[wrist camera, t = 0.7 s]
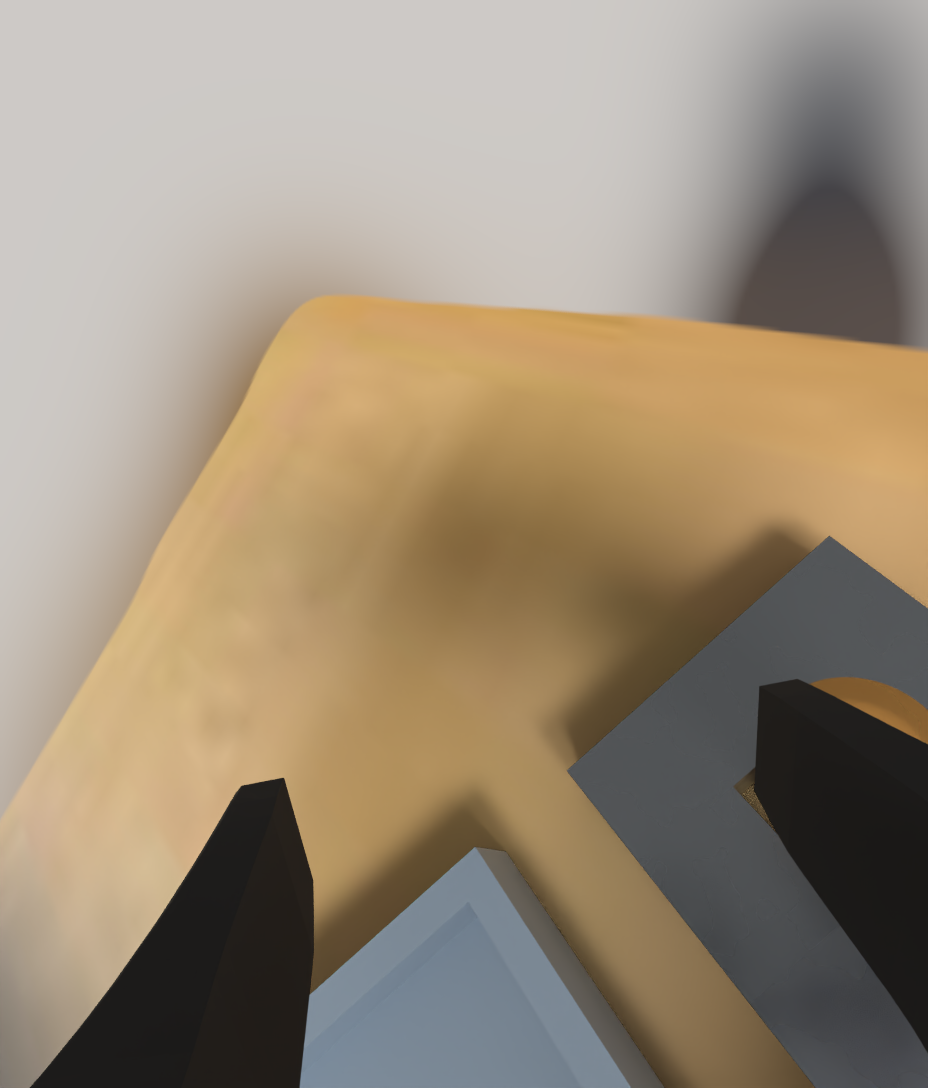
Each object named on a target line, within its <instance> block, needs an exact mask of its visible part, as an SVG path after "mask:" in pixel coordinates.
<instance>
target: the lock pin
mask: <svg viewBox="0 0 928 1088" xmlns="http://www.w3.org/2000/svg"><path fill="white" fill-rule="evenodd" d="M810 685H812V686H814V687H816V688H818V689H821V690H823V691H825V692H827V693H829V694H831V695H833V696H834V697H836V698H838V699H840V700H842V701H844V702H846V703H848V704H850V705H852V706H854V707H856V708H858V709H860V710H862V711H864V712H866V713H868V714H869V715H871V716H873V717H875V718H877V719H879V720H881V721H883V722H885V723H887V724H889V725H891V726H893V727H895V728H897V729H899V730H901V731H903V732H905V733H906V734H908V735H910V736H912V737H914V738H916V739H918V740H920V741H922V742H924V743H926V744H928V710H927V709H926V708H925V707H924V706H923V705H921V704H920V703H919V702H917V701H916V700H915V699H913V698H912V697H910V696H909V695H907V694H905V693H903V692H902V691H900V690H898V689H896V688H893V687H891V686H889V685H886V684H883V683H880V682H877V681H873V680H868V679H863V678H854V677H836V678H829V679H823V680H820V681H816V682H813V683H810Z"/></svg>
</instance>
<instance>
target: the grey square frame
mask: <svg viewBox="0 0 928 1088" xmlns="http://www.w3.org/2000/svg"><path fill="white" fill-rule="evenodd" d="M836 677H854V678H863V679H868V680H873V681H877V682H880V683H883V684H886V685H889V686H891V687H893V688H896V689H898V690H900V691H902V692H903V693H905V694H907V695H909V696H910V697H912V698H913V699H915V700H916V701H917V702H919V703H920V704H921V705H923V706H924V707H925V708H926V709H927V710H928V609H927V608H926V607H925V606H923V605H922V604H921V603H919V602H918V601H917V600H915V599H914V598H913V597H911V596H910V595H909V594H907V593H906V592H904V591H903V590H902V589H900V588H899V587H898V586H896V585H895V584H894V583H892V582H891V581H890V580H888V579H887V578H886V577H884V576H883V575H882V574H880V573H879V572H877V571H876V570H875V569H873V568H872V567H871V566H869V565H868V564H867V563H865V562H864V561H863V560H861V559H860V558H859V557H857V556H856V555H855V554H853V553H852V552H851V551H849V550H848V549H846V548H845V547H844V546H842V545H841V544H840V543H838V542H837V541H836V540H834V539H833V538H832V537H830V536H829V537H827V538H826V539H825V540H824V541H823V542H822V543H821V544H820V545H819V546H817V547H816V548H815V549H814V550H813V551H812V552H811V553H810V554H808V555H807V556H806V557H805V558H804V559H803V560H802V561H801V562H800V563H798V564H797V565H796V566H795V567H794V568H793V569H792V570H791V571H789V572H788V573H787V574H786V575H785V576H784V577H783V578H782V579H781V580H779V581H778V582H777V583H776V584H775V585H774V586H773V587H772V588H770V589H769V590H768V591H767V592H766V593H765V594H764V595H763V596H762V597H760V598H759V599H758V600H757V601H756V602H755V603H754V604H753V605H751V606H750V607H749V608H748V609H747V610H746V611H745V612H744V613H743V614H741V615H740V616H739V617H738V618H737V619H736V620H735V621H734V622H732V623H731V624H730V625H729V626H728V627H727V628H726V629H725V630H724V631H722V632H721V633H720V634H719V635H718V636H717V637H716V638H715V639H713V640H712V641H711V642H710V643H709V644H708V645H707V646H706V647H705V648H703V649H702V650H701V651H700V652H699V653H698V654H697V655H696V656H694V657H693V658H692V659H691V660H690V661H689V662H688V663H687V664H686V665H684V666H683V667H682V668H681V669H680V670H679V671H678V672H677V673H675V674H674V675H673V676H672V677H671V678H670V679H669V680H668V681H666V682H665V683H664V684H663V685H662V686H661V687H660V688H659V689H658V690H656V691H655V692H654V693H653V694H652V695H651V696H650V697H649V698H647V699H646V700H645V701H644V702H643V703H642V704H641V705H640V706H639V707H637V708H636V709H635V710H634V711H633V712H632V713H631V714H630V715H628V716H627V717H626V718H625V719H624V720H623V721H622V722H621V723H620V724H618V725H617V726H616V727H615V728H614V729H613V730H612V731H611V732H609V733H608V734H607V735H606V736H605V737H604V738H603V739H602V740H601V741H599V742H598V743H597V744H596V745H595V746H594V747H593V748H592V749H590V750H589V751H588V752H587V753H586V754H585V755H584V756H583V757H582V758H580V759H579V760H578V761H577V762H576V763H575V764H574V765H573V766H571V767H570V768H569V769H568V770H567V771H568V773H569V774H570V775H571V777H572V778H573V779H574V780H575V782H576V783H577V784H578V786H579V787H580V788H581V789H582V791H583V792H584V793H585V794H586V796H587V797H588V798H589V800H590V801H591V802H592V803H593V805H594V806H595V807H596V808H597V810H598V811H599V812H600V814H601V815H602V816H603V817H604V819H605V820H606V821H607V822H608V824H609V825H610V826H611V828H612V829H613V830H614V831H615V833H616V834H617V835H618V837H619V838H620V839H621V840H622V842H623V843H624V844H625V845H626V847H627V848H628V849H629V851H630V852H631V853H632V854H633V856H634V857H635V858H636V859H637V861H638V862H639V863H640V865H641V866H642V867H643V868H644V870H645V871H646V872H647V873H648V875H649V876H650V877H651V879H652V880H653V881H654V882H655V884H656V885H657V886H658V888H659V889H660V890H661V891H662V893H663V894H664V895H665V896H666V898H667V899H668V900H669V902H670V903H671V904H672V905H673V907H674V908H675V909H676V910H677V912H678V913H679V914H680V916H681V917H682V918H683V919H684V921H685V922H686V923H687V924H688V926H689V927H690V928H691V930H692V931H693V932H694V933H695V935H696V936H697V937H698V939H699V940H700V941H701V942H702V944H703V945H704V946H705V947H706V949H707V950H708V951H709V953H710V954H711V955H712V956H713V958H714V959H715V960H716V961H717V963H718V964H719V965H720V967H721V968H722V969H723V970H724V972H725V973H726V974H727V975H728V977H729V978H730V979H731V981H732V982H733V983H734V984H735V986H736V987H737V988H738V989H739V991H740V992H741V993H742V995H743V996H744V997H745V998H746V1000H747V1001H748V1002H749V1004H750V1005H751V1006H752V1007H753V1009H754V1010H755V1011H756V1012H757V1014H758V1015H759V1016H760V1018H761V1019H762V1020H763V1021H764V1023H765V1024H766V1025H767V1026H768V1028H769V1029H770V1030H771V1032H772V1033H773V1034H774V1035H775V1037H776V1038H777V1039H778V1040H779V1042H780V1043H781V1044H782V1046H783V1047H784V1048H785V1049H786V1051H787V1052H788V1053H789V1055H790V1056H791V1057H792V1058H793V1060H794V1061H795V1062H796V1063H797V1065H798V1066H799V1067H800V1069H801V1070H802V1071H803V1072H804V1074H805V1075H806V1076H807V1077H808V1079H809V1080H810V1081H811V1083H812V1084H813V1085H814V1086H815V1088H928V1053H927V1051H926V1050H925V1048H924V1046H923V1045H922V1043H921V1041H920V1040H919V1038H918V1036H917V1035H916V1033H915V1031H914V1030H913V1028H912V1027H911V1025H910V1024H909V1022H908V1021H907V1019H906V1018H905V1016H904V1015H903V1013H902V1012H901V1010H900V1009H899V1007H898V1006H897V1004H896V1003H895V1001H894V1000H893V998H892V997H891V995H890V994H889V992H888V991H887V990H886V988H885V987H884V986H883V984H882V983H881V981H880V980H879V979H878V977H877V976H876V974H875V973H874V972H873V970H872V969H871V968H870V966H869V965H868V963H867V962H866V961H865V959H864V958H863V957H862V955H861V954H860V952H859V951H858V950H857V948H856V947H855V945H854V944H853V943H852V941H851V940H850V939H849V937H848V936H847V934H846V933H845V932H844V930H843V929H842V928H841V926H840V925H839V923H838V922H837V921H836V919H835V918H834V916H833V915H832V914H831V912H830V911H829V910H828V908H827V907H826V905H825V904H824V903H823V901H822V900H821V898H820V897H819V896H818V894H817V893H816V891H815V890H814V889H813V887H812V886H811V884H810V883H809V882H808V880H807V879H806V877H805V876H804V875H803V873H802V872H801V870H800V869H799V868H798V866H797V865H796V863H795V862H794V860H793V859H792V857H791V856H790V855H789V853H788V852H787V850H786V848H785V846H784V845H783V843H782V841H781V839H780V838H779V836H778V835H777V833H776V832H775V831H774V830H773V829H772V828H771V827H770V826H769V825H768V824H767V823H766V822H765V821H764V820H763V818H762V817H761V816H760V815H759V814H758V813H757V812H756V811H755V810H754V809H753V808H752V807H751V806H750V804H749V803H748V802H747V801H746V800H745V799H744V798H743V797H742V796H741V794H742V793H743V792H744V791H746V790H747V789H748V788H749V787H750V786H751V785H752V784H754V783H755V764H756V743H757V723H758V702H759V686H762V685H768V684H773V683H778V682H783V681H788V680H794V679H799V680H801V681H804V682H806V683H808V684H810V683H813V682H816V681H820V680H823V679H829V678H836Z"/></svg>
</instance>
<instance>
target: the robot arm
mask: <svg viewBox="0 0 928 1088" xmlns="http://www.w3.org/2000/svg"><path fill="white" fill-rule="evenodd" d="M754 791H755V793H756V795H757V797H758V799H759V801H760V803H761V805H762V806H763V808H764V810H765V812H766V814H767V816H768V818H769V820H770V822H771V823H772V825H773V827H774V829H775V831H776V832H777V834H778V836H779V838H780V839H781V841H782V843H783V845H784V846H785V848H786V850H787V852H788V853H789V855H790V856H791V857H792V859H793V860H794V862H795V863H796V865H797V866H798V868H799V869H800V870H801V872H802V873H803V875H804V876H805V877H806V879H807V880H808V882H809V883H810V884H811V886H812V887H813V889H814V890H815V891H816V893H817V894H818V896H819V897H820V898H821V900H822V901H823V903H824V904H825V905H826V907H827V908H828V910H829V911H830V912H831V914H832V915H833V916H834V918H835V919H836V921H837V922H838V923H839V925H840V926H841V928H842V929H843V930H844V932H845V933H846V934H847V936H848V937H849V939H850V940H851V941H852V943H853V944H854V945H855V947H856V948H857V950H858V951H859V952H860V954H861V955H862V957H863V958H864V959H865V961H866V962H867V963H868V965H869V966H870V968H871V969H872V970H873V972H874V973H875V974H876V976H877V977H878V979H879V980H880V981H881V983H882V984H883V986H884V987H885V988H886V990H887V991H888V992H889V994H890V995H891V997H892V998H893V1000H894V1001H895V1003H896V1004H897V1006H898V1007H899V1009H900V1010H901V1012H902V1013H903V1015H904V1016H905V1018H906V1019H907V1021H908V1022H909V1024H910V1025H911V1027H912V1028H913V1030H914V1031H915V1033H916V1035H917V1036H918V1038H919V1040H920V1041H921V1043H922V1045H923V1046H924V1048H925V1050H926V1051H927V1053H928V744H926V743H924V742H922V741H920V740H918V739H916V738H914V737H912V736H910V735H908V734H906V733H905V732H903V731H901V730H899V729H897V728H895V727H893V726H891V725H889V724H887V723H885V722H883V721H881V720H879V719H877V718H875V717H873V716H871V715H869V714H868V713H866V712H864V711H862V710H860V709H858V708H856V707H854V706H852V705H850V704H848V703H846V702H844V701H842V700H840V699H838V698H836V697H834V696H833V695H831V694H829V693H827V692H825V691H823V690H821V689H818V688H816V687H814V686H812V685H810V684H808V683H806V682H804V681H801V680H799V679H794V680H788V681H783V682H778V683H773V684H768V685H762V686H759V702H758V723H757V743H756V764H755V784H754ZM313 955H314V897H313V878H312V875H311V871H310V868H309V864H308V861H307V857H306V854H305V850H304V847H303V843H302V840H301V836H300V832H299V829H298V825H297V822H296V818H295V815H294V811H293V808H292V804H291V801H290V797H289V794H288V790H287V787H286V783H285V780H284V778H280V779H275V780H269V781H264V782H259V783H254V784H249V785H243V786H241V787H240V789H239V790H238V791H237V792H236V794H235V795H234V797H233V799H232V800H231V802H230V804H229V806H228V807H227V809H226V811H225V812H224V814H223V816H222V818H221V819H220V821H219V823H218V824H217V826H216V828H215V830H214V831H213V833H212V835H211V836H210V838H209V840H208V841H207V843H206V845H205V846H204V848H203V850H202V851H201V853H200V855H199V856H198V858H197V859H196V861H195V863H194V864H193V866H192V868H191V869H190V871H189V872H188V874H187V876H186V877H185V879H184V880H183V882H182V883H181V885H180V886H179V888H178V890H177V891H176V893H175V894H174V896H173V897H172V899H171V900H170V902H169V904H168V905H167V907H166V908H165V910H164V911H163V913H162V914H161V916H160V917H159V919H158V920H157V922H156V923H155V925H154V926H153V928H152V929H151V931H150V932H149V934H148V935H147V936H146V938H145V939H144V941H143V942H142V944H141V945H140V946H139V948H138V949H137V951H136V952H135V953H134V955H133V956H132V958H131V959H130V961H129V962H128V963H127V965H126V966H125V968H124V969H123V970H122V972H121V973H120V975H119V976H118V978H117V979H116V980H115V982H114V983H113V985H112V986H111V987H110V989H109V990H108V991H107V993H106V994H105V995H104V997H103V998H102V999H101V1001H100V1002H99V1003H98V1004H97V1006H96V1007H95V1008H94V1010H93V1011H92V1012H91V1014H90V1015H89V1016H88V1018H87V1019H86V1020H85V1021H84V1023H83V1024H82V1025H81V1026H80V1028H79V1029H78V1030H77V1032H76V1033H75V1034H74V1035H73V1036H72V1038H71V1039H70V1040H69V1041H68V1043H67V1044H66V1045H65V1046H64V1048H63V1049H62V1050H61V1051H60V1053H59V1054H58V1055H57V1056H56V1057H55V1059H54V1060H53V1061H52V1062H51V1064H50V1065H49V1066H48V1067H47V1068H46V1070H45V1071H44V1072H43V1073H42V1074H41V1076H40V1077H39V1078H38V1079H37V1080H36V1081H35V1082H34V1084H33V1085H32V1086H31V1087H30V1088H300V1080H301V1070H302V1061H303V1052H304V1042H305V1033H306V1024H307V1014H308V1005H309V995H310V985H311V975H312V965H313Z"/></svg>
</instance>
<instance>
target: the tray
mask: <svg viewBox="0 0 928 1088" xmlns="http://www.w3.org/2000/svg"><path fill="white" fill-rule="evenodd" d="M300 1088H664V1086H663V1085H662V1083H661V1082H660V1080H659V1079H658V1077H657V1076H656V1074H655V1073H654V1071H653V1070H652V1068H651V1067H650V1065H649V1064H648V1062H647V1061H646V1059H645V1058H644V1056H643V1055H642V1053H641V1052H640V1050H639V1049H638V1047H637V1046H636V1044H635V1043H634V1041H633V1040H632V1038H631V1037H630V1035H629V1034H628V1032H627V1031H626V1029H625V1028H624V1026H623V1025H622V1024H621V1022H620V1021H619V1019H618V1018H617V1016H616V1015H615V1013H614V1012H613V1010H612V1009H611V1007H610V1006H609V1004H608V1003H607V1001H606V1000H605V998H604V997H603V995H602V994H601V992H600V991H599V989H598V988H597V986H596V985H595V983H594V982H593V980H592V979H591V977H590V976H589V974H588V973H587V971H586V970H585V968H584V967H583V965H582V964H581V962H580V961H579V960H578V958H577V957H576V955H575V954H574V952H573V951H572V949H571V948H570V946H569V945H568V943H567V942H566V940H565V939H564V937H563V936H562V934H561V933H560V931H559V930H558V928H557V927H556V925H555V924H554V922H553V921H552V919H551V918H550V916H549V915H548V913H547V912H546V910H545V909H544V907H543V906H542V904H541V903H540V901H539V900H538V899H537V897H536V896H535V894H534V893H533V891H532V890H531V888H530V887H529V885H528V884H527V882H526V881H525V879H524V878H523V876H522V875H521V873H520V872H519V870H518V869H517V867H516V866H515V864H514V863H513V861H512V860H511V858H510V857H509V855H508V854H507V852H506V851H499V850H493V849H486V848H480V847H474V848H473V849H472V850H471V851H470V852H469V853H468V854H467V855H465V856H464V857H463V858H462V859H461V860H460V861H459V862H458V863H457V864H455V865H454V866H453V867H452V868H451V869H450V870H449V871H448V872H446V873H445V874H444V875H443V876H442V877H441V878H440V879H439V880H438V881H436V882H435V883H434V884H433V885H432V886H431V887H430V888H429V889H427V890H426V891H425V892H424V893H423V894H422V895H421V896H420V897H419V898H417V899H416V900H415V901H414V902H413V903H412V904H411V905H410V906H408V907H407V908H406V909H405V910H404V911H403V912H402V913H401V914H400V915H398V916H397V917H396V918H395V919H394V920H393V921H392V922H391V923H389V924H388V925H387V926H386V927H385V928H384V929H383V930H382V931H381V932H379V933H378V934H377V935H376V936H375V937H374V938H373V939H372V940H370V941H369V942H368V943H367V944H366V945H365V946H364V947H363V948H362V949H360V950H359V951H358V952H357V953H356V954H355V955H354V956H353V957H351V958H350V959H349V960H348V961H347V962H346V963H345V964H344V965H343V966H341V967H340V968H339V969H338V970H337V971H336V972H335V973H334V974H332V975H331V976H330V977H329V978H328V979H327V980H326V981H325V982H324V983H322V984H321V985H320V986H319V987H318V988H317V989H316V990H315V991H314V992H312V993H311V994H310V995H309V1005H308V1014H307V1024H306V1033H305V1042H304V1052H303V1061H302V1070H301V1080H300Z"/></svg>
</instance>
